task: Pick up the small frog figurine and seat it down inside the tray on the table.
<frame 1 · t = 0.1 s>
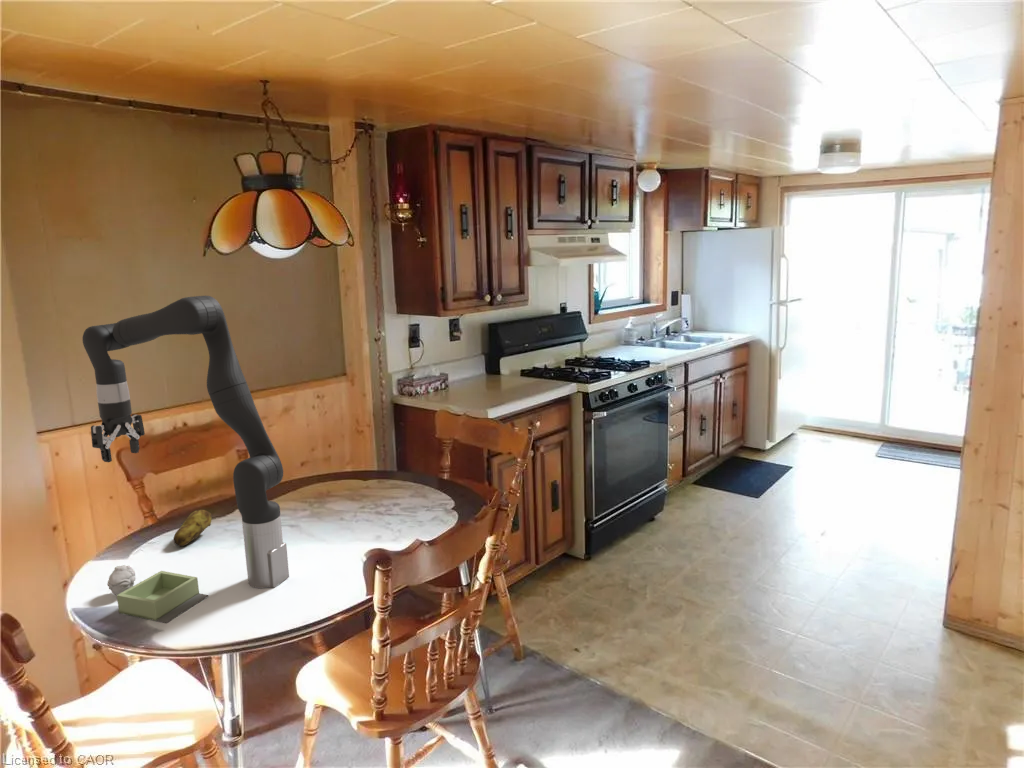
hand: (121, 457, 184), 29 cm above the table, tool pointing down, fingers open, 8 cm apart
tray: (160, 603, 165), on the table
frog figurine: (123, 594, 170), on the table
potato: (193, 540, 201), on the table
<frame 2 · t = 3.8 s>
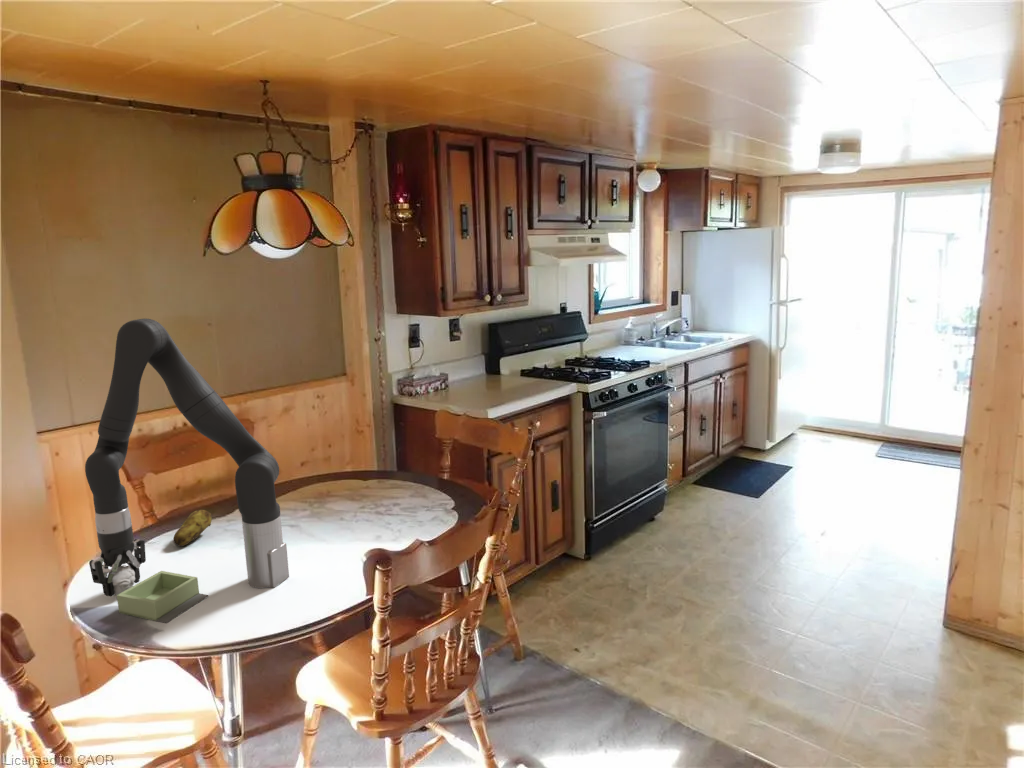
hand: (122, 588, 170), 1 cm above the table, tool pointing down, fingers closed on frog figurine, 6 cm apart
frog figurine: (123, 594, 170), on the table, touching gripper
everything else where it was.
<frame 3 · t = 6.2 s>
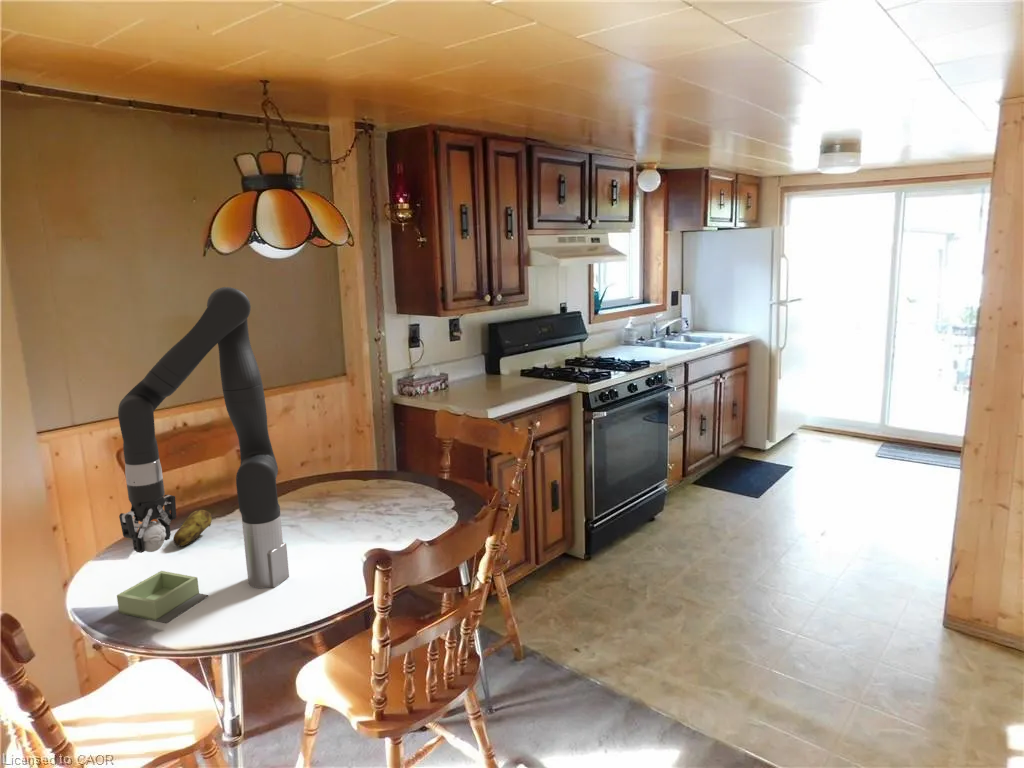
hand: (153, 545, 162), 15 cm above the table, tool pointing down, fingers closed on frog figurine, 6 cm apart
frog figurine: (153, 551, 162), point 14 cm above the table, touching gripper
everything else where it was.
when the fingers open (3 cm above the table, at t = 9.2 s): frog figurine drops 2 cm, resting on tray.
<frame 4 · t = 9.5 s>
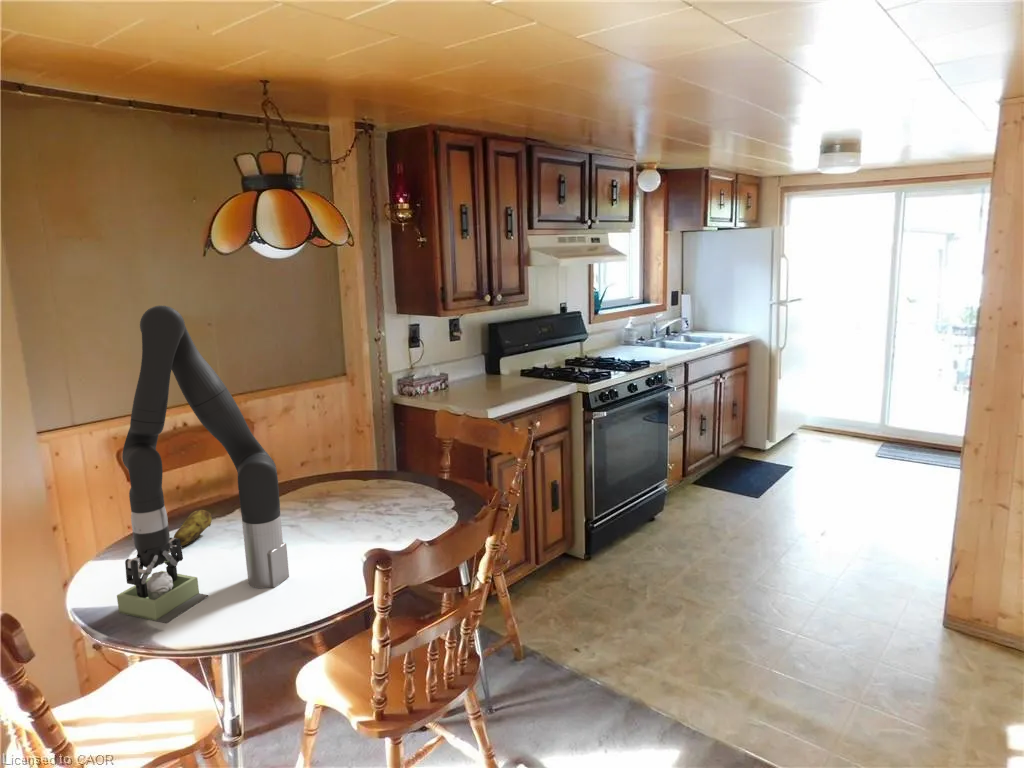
hand: (158, 588, 164), 4 cm above the table, tool pointing down, fingers open, 8 cm apart
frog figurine: (160, 601, 165), resting on tray
everything else where it was.
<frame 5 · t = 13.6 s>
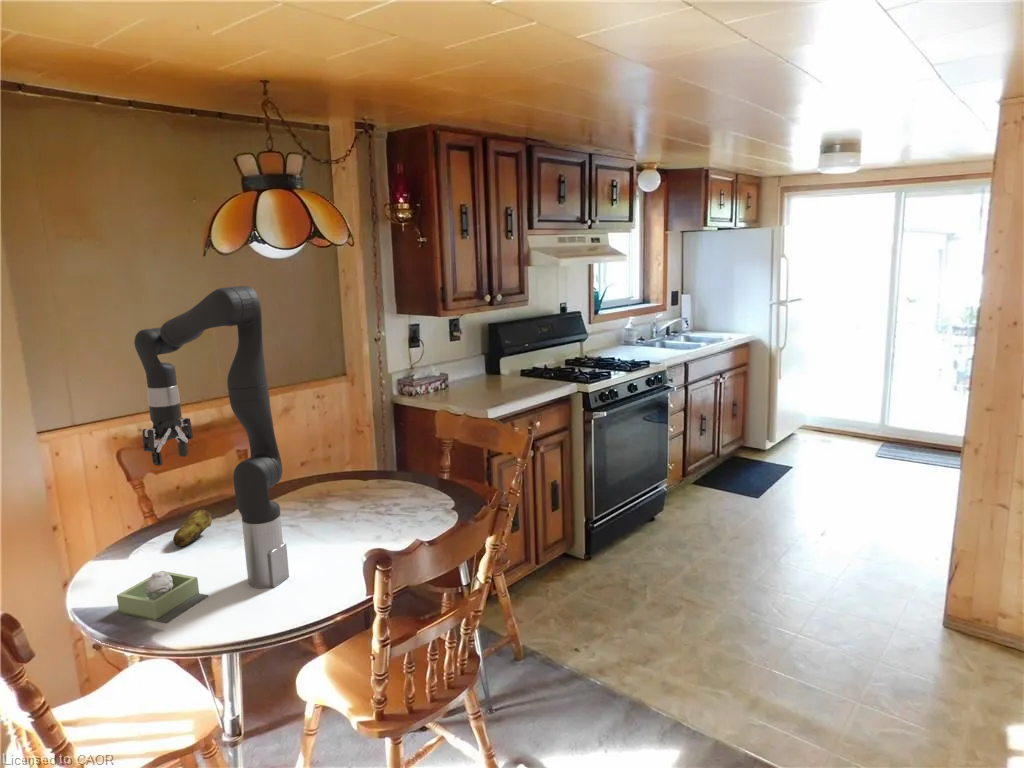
hand: (171, 460, 184), 28 cm above the table, tool pointing down, fingers open, 8 cm apart
nothing on the table moved.
at the end: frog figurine inside the target area on the tray (0.3 cm from its centre), point 0.4 cm above the tray's base; the gripper is holding nothing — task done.
